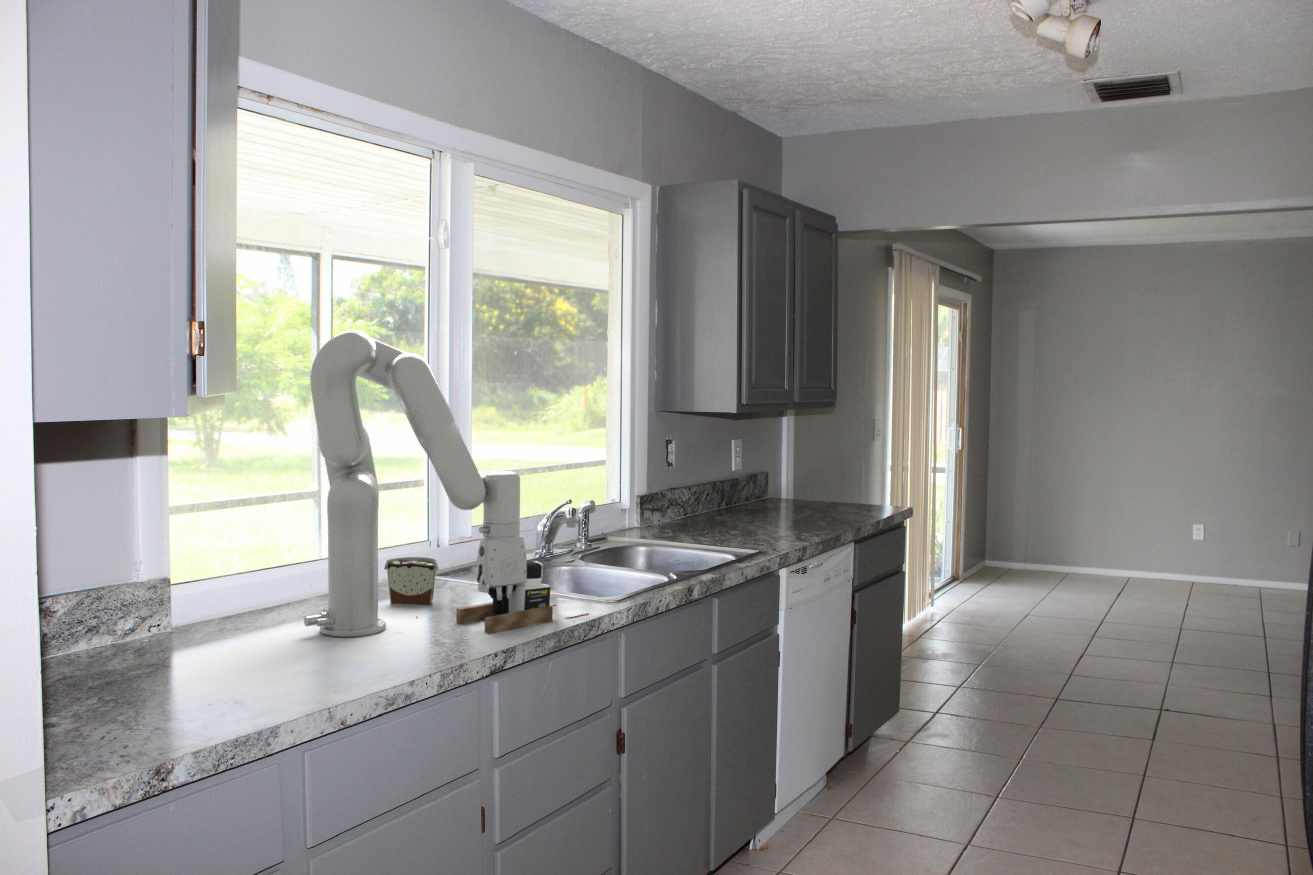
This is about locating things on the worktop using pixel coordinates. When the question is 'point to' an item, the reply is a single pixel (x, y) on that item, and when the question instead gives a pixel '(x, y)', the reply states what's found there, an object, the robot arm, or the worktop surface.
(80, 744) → the worktop surface
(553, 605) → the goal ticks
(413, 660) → the worktop surface
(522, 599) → the medicine bottle
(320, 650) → the worktop surface
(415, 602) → the food container
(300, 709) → the worktop surface
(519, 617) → the chute
